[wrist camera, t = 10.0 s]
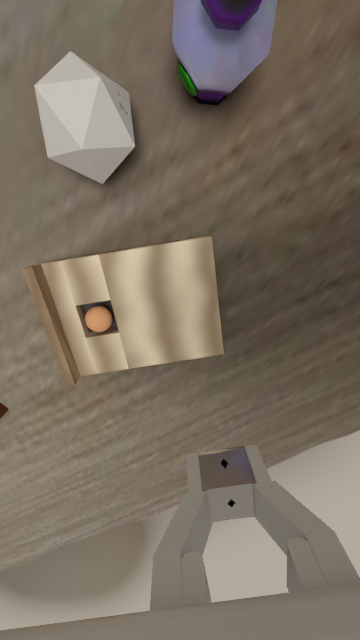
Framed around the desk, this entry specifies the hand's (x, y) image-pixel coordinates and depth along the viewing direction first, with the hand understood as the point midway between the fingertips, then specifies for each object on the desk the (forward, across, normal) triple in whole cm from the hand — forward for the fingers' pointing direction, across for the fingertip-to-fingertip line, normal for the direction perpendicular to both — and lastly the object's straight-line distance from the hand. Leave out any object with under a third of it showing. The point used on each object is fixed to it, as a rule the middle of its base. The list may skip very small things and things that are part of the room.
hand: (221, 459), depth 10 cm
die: (+25, +7, -20) cm, 33 cm away
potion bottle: (+25, -6, -24) cm, 35 cm away
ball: (+25, +11, 0) cm, 27 cm away
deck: (+25, +7, 0) cm, 26 cm away
